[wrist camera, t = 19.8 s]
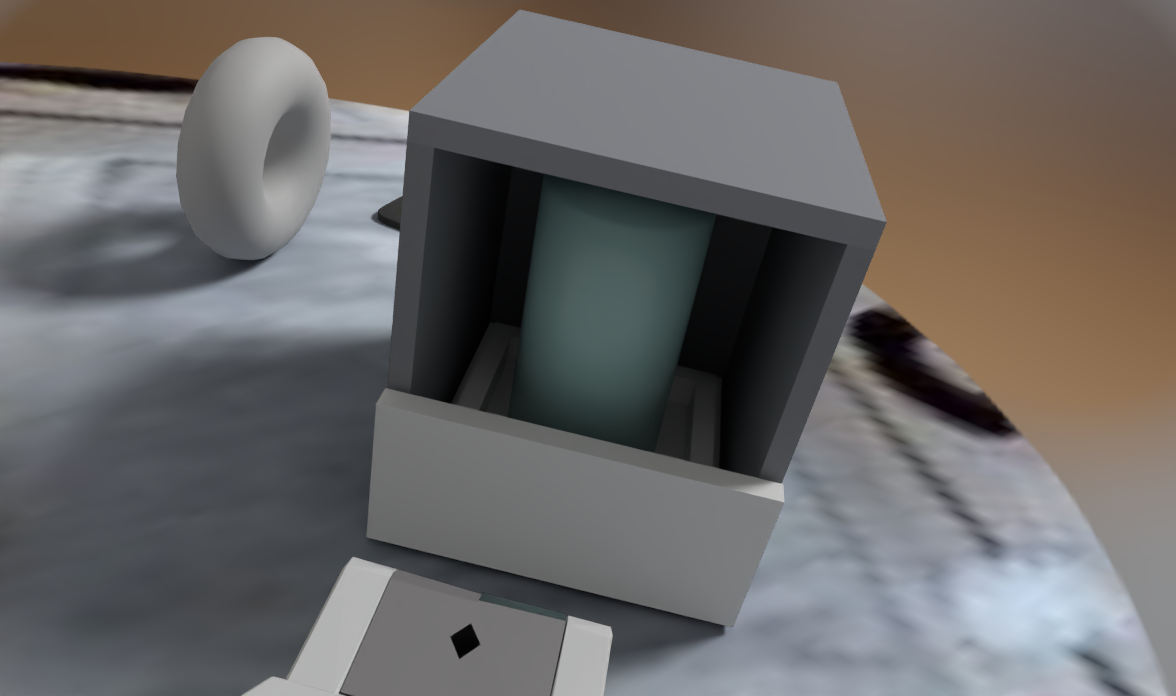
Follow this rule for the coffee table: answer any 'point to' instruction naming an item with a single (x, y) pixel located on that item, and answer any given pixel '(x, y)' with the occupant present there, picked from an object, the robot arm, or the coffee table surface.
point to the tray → (572, 493)
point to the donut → (253, 148)
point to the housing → (649, 169)
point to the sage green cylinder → (606, 311)
